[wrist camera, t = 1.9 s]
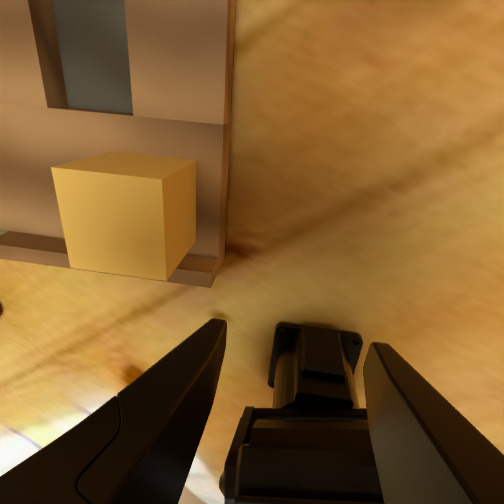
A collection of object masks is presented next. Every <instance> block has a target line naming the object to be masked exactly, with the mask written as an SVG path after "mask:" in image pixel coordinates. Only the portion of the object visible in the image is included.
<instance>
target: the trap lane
mask: <svg viewBox="0 0 504 504" xmlns="http://www.w3.org/2000/svg"><path fill="white" fill-rule="evenodd" d="M235 14H236V0H0V259H6V260H13V261H21V262H28V263H35V264H42V265H49V266H57V267H64V268H70V263H69V257H68V252H67V247H66V242H65V237H64V232H63V227H62V222H61V216H60V211H59V206H58V201H57V196H56V191H55V186H54V180H53V175H52V170H51V167H54V166H57V165H61V164H65V163H69V162H73V161H76V160H80V159H84V158H88V157H91V156H95V155H99V154H103V153H107V152H110V151H114V152H123V153H133V154H142V155H152V156H162V157H171V158H181V159H190V160H196V242H195V243H194V244H193V246H192V247H191V248H190V250H189V251H188V253H187V254H186V255H185V257H184V258H183V259H182V261H181V262H180V263H179V265H178V266H177V268H176V269H175V270H174V272H173V273H172V274H171V276H170V277H169V278H168V280H167V281H165V282H172V283H180V284H187V285H194V286H201V287H209V288H211V286H212V284H213V282H214V280H215V277H216V275H217V273H218V271H219V269H220V267H221V265H222V262H223V260H224V257H225V235H226V213H227V191H228V169H229V147H230V125H231V103H232V81H233V59H234V36H235ZM71 269H75V268H71ZM78 270H82V269H78ZM86 271H89V270H86ZM93 272H97V271H93ZM100 273H104V272H100ZM107 274H111V273H107ZM115 275H118V274H115ZM122 276H126V275H122ZM129 277H133V276H129ZM136 278H140V277H136ZM143 279H147V278H143ZM151 280H155V279H151ZM158 281H162V280H158Z"/></svg>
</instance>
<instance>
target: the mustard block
mask: <svg viewBox="0 0 504 504" xmlns="http://www.w3.org/2000/svg"><path fill="white" fill-rule="evenodd" d="M51 170H52V175H53V180H54V186H55V191H56V196H57V201H58V206H59V211H60V216H61V222H62V227H63V232H64V237H65V242H66V247H67V252H68V257H69V263H70V268H75V269H82V270H89V271H97V272H104V273H111V274H118V275H126V276H133V277H140V278H147V279H155V280H162V281H167V280H168V278H169V277H170V276H171V274H172V273H173V272H174V270H175V269H176V268H177V266H178V265H179V263H180V262H181V261H182V259H183V258H184V257H185V255H186V254H187V253H188V251H189V250H190V248H191V247H192V246H193V244H194V243H195V242H196V160H190V159H181V158H171V157H162V156H152V155H142V154H133V153H123V152H114V151H110V152H107V153H103V154H99V155H95V156H91V157H88V158H84V159H80V160H76V161H73V162H69V163H65V164H61V165H57V166H54V167H51Z"/></svg>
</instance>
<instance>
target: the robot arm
mask: <svg viewBox="0 0 504 504" xmlns="http://www.w3.org/2000/svg"><path fill="white" fill-rule="evenodd" d="M280 329H284V331H280ZM226 333H227V322H226V320H222V319H215V318H213V319H211V320H209V321H208V322H207V323H205V324H204V325H203V326H202V327H200V328H199V329H198V330H197V331H195V332H194V333H193V334H192V335H190V336H189V337H188V338H187V339H185V340H184V341H183V342H182V343H180V344H179V345H178V346H177V347H175V348H174V349H173V350H172V351H170V352H169V353H168V354H167V355H165V356H164V357H163V358H162V359H160V360H159V361H158V362H157V363H155V364H154V365H153V366H152V367H150V368H149V369H148V370H147V371H145V372H144V373H143V374H141V375H140V376H139V377H138V378H136V379H135V380H134V381H133V382H131V383H130V384H129V385H128V386H126V387H125V388H124V389H123V390H121V391H120V392H119V393H118V394H117V396H114V397H112V398H111V399H110V400H109V401H107V402H106V403H105V404H104V405H102V406H101V407H100V408H99V409H97V410H96V411H95V412H93V413H92V414H91V415H89V416H88V417H87V418H85V419H84V420H83V421H81V422H80V423H79V424H77V425H76V426H74V427H73V428H72V429H70V430H69V431H67V432H66V433H64V434H63V435H61V436H60V437H59V438H57V439H56V440H54V441H53V442H51V443H50V444H48V445H47V446H45V447H44V448H42V449H41V450H39V451H38V452H36V453H35V454H33V455H32V456H30V457H29V458H27V459H26V460H24V461H23V462H21V463H20V464H18V465H17V466H15V467H14V468H12V469H11V470H9V471H8V472H6V473H5V474H3V475H2V476H0V504H178V502H179V499H180V496H181V494H182V491H183V487H184V485H185V482H186V479H187V477H188V474H189V471H190V468H191V465H192V462H193V460H194V457H195V454H196V451H197V448H198V445H199V443H200V440H201V437H202V434H203V431H204V428H205V425H206V423H207V420H208V417H209V414H210V411H211V408H212V405H213V401H214V397H215V393H216V389H217V384H218V380H219V375H220V371H221V366H222V362H223V358H224V353H225V348H226ZM354 340H358V341H356V342H354ZM362 344H363V340H362V337H361V336H360V335H359V334H355V333H348V332H341V331H335V330H328V329H321V328H314V327H307V326H299V325H293V324H286V323H279V324H277V325H276V328H275V335H274V342H273V349H272V357H271V364H270V371H269V378H268V385H269V386H270V387H271V388H274V394H273V407H272V408H254V407H250V406H246V407H245V410H244V413H243V416H242V417H241V418H240V421H239V424H238V427H237V430H236V433H235V436H234V438H233V441H232V444H231V447H230V450H229V453H228V456H227V459H226V462H225V467H224V471H223V473H222V475H221V476H220V480H219V488H220V490H221V492H222V494H223V495H224V497H225V504H504V455H503V454H502V453H501V452H500V451H499V450H498V449H497V448H496V447H495V446H494V445H493V444H492V443H491V442H490V441H489V440H488V439H487V438H486V437H485V436H484V435H483V434H481V433H480V432H479V431H478V430H477V429H476V428H475V427H474V426H473V425H472V424H471V423H470V422H469V421H468V420H467V419H466V418H465V417H464V416H463V415H462V414H461V413H460V412H459V411H458V410H457V409H455V408H454V407H453V406H452V405H451V404H450V403H449V402H448V401H447V400H446V399H445V398H444V397H443V396H442V395H441V394H440V393H439V392H438V391H437V390H436V389H435V388H434V387H433V386H432V385H431V384H429V383H428V382H427V381H426V380H425V379H424V378H423V377H422V376H421V375H420V374H419V373H418V372H417V371H416V370H415V369H414V368H413V367H412V366H411V365H410V364H409V363H408V362H407V361H406V360H405V359H403V358H402V357H401V356H400V355H399V354H398V353H397V352H396V351H395V350H394V349H393V348H392V347H391V346H390V345H389V344H386V343H380V342H372V343H371V344H370V346H369V350H368V353H367V356H366V359H365V362H364V367H363V377H364V387H365V397H366V407H367V408H359V403H358V398H357V394H356V389H355V384H354V379H353V375H354V371H355V368H356V365H357V361H358V358H359V355H360V351H361V348H362Z"/></svg>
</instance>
